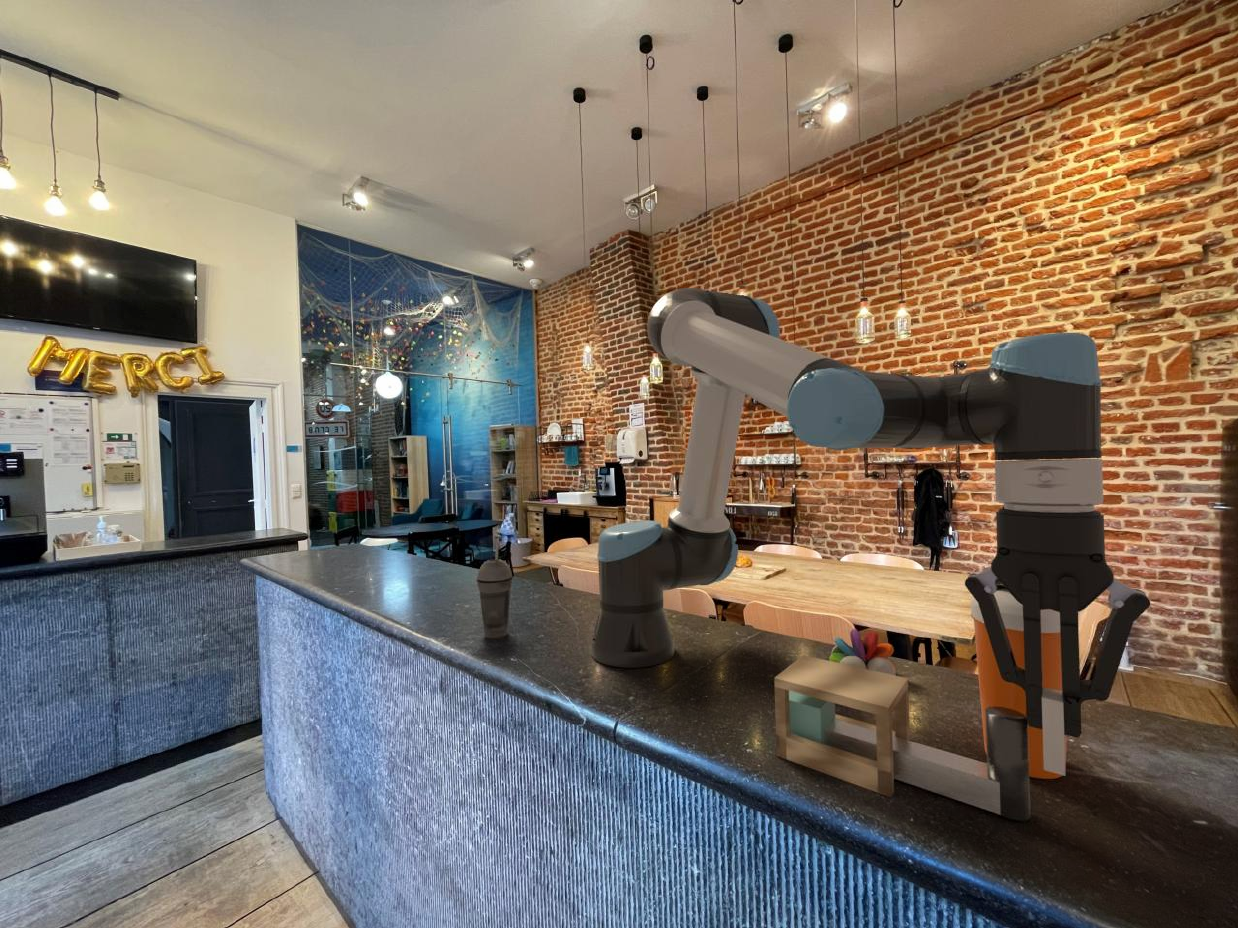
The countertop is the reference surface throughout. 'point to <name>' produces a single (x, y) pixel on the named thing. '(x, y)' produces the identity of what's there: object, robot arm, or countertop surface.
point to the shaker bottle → (1008, 693)
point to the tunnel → (844, 718)
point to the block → (809, 716)
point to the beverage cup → (495, 595)
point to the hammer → (957, 763)
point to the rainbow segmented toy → (864, 653)
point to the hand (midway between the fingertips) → (1054, 765)
